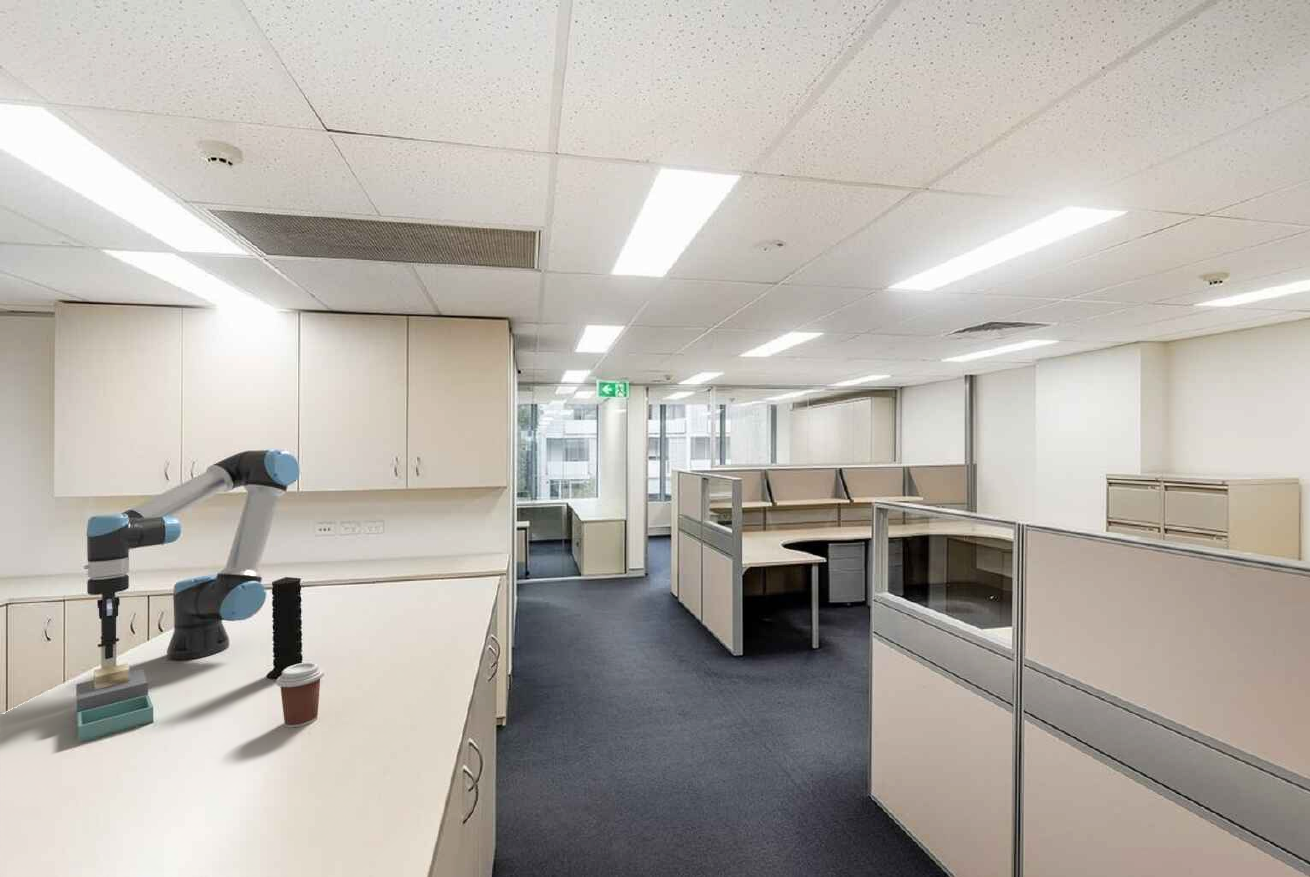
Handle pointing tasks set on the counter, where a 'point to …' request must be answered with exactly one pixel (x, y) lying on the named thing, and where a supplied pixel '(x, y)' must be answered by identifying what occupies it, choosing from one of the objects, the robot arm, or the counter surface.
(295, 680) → the coffee cup
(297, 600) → the black ridged tower
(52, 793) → the counter surface
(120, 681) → the tile
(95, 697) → the gray rectangular block
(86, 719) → the box
